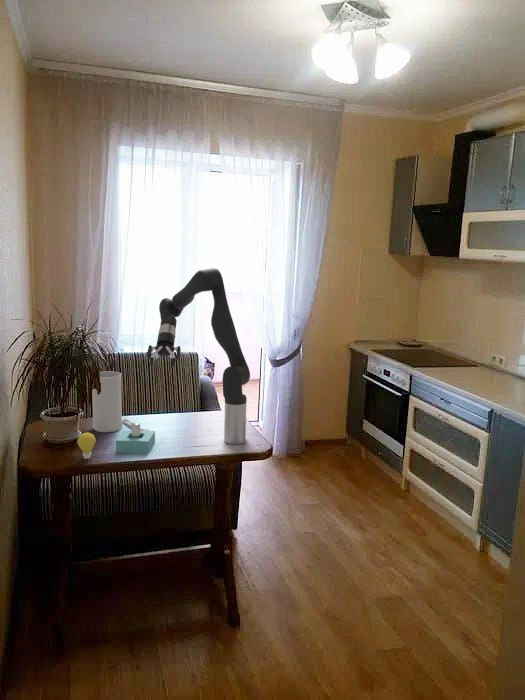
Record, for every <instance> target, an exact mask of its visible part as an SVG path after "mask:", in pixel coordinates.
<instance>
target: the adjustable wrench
mask: <svg viewBox="0 0 525 700" xmlns="http://www.w3.org/2000/svg"><path fill="white" fill-rule="evenodd" d="M132 423H133V422H132V421H130V420H129V419H127V418H126V419H122V424H124V425H125V426H127V427H128V428H130V429H131V424H132ZM140 431H151V430H150V429H148V428H142V427H140Z"/></svg>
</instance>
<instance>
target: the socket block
mask: <svg viewBox="0 0 525 700" xmlns="http://www.w3.org/2000/svg"><path fill="white" fill-rule="evenodd" d="M155 443H156V431H155V430H150V431H140V438H131V429H130V430H127V429H126V430H125V429H124V430H122V432H121V433H120V434H119V435H118V437H117V438H116V439H115V453H123V454H124V453H125V454H150V452H151V450H152V448H153V446H154V444H155Z"/></svg>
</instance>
